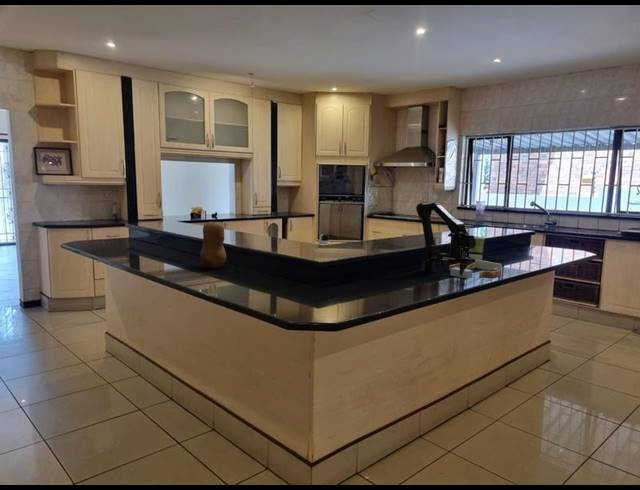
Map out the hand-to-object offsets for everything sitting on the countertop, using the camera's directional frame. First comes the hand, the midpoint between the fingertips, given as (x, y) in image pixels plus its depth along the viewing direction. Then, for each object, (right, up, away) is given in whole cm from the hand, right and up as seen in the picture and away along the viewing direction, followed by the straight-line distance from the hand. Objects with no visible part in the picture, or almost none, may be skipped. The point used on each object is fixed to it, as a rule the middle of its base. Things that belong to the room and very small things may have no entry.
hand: (453, 274), depth 245 cm
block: (+6, -2, +6) cm, 8 cm away
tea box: (+30, +7, +62) cm, 69 cm away
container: (-70, +10, +54) cm, 89 cm away
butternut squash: (-130, +3, +1) cm, 130 cm away
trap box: (+19, 0, +17) cm, 26 cm away
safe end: (+27, +1, +24) cm, 37 cm away
